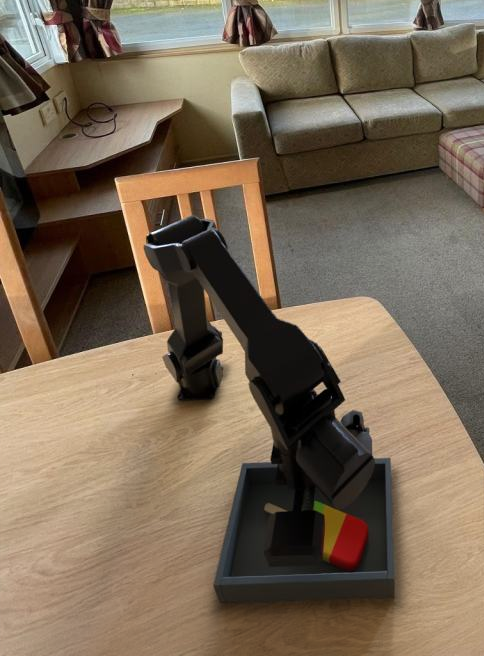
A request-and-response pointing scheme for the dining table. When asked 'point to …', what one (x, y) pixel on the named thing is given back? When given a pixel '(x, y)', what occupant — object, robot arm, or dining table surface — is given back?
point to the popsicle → (339, 536)
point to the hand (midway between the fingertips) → (310, 508)
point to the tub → (303, 581)
